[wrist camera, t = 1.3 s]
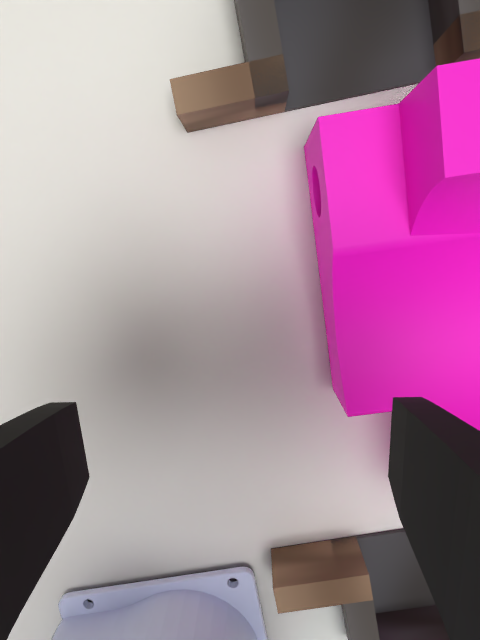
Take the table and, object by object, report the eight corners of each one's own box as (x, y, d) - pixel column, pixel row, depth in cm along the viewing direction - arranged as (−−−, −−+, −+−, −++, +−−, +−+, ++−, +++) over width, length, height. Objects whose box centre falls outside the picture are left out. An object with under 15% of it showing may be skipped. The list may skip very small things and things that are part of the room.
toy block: (303, 147, 19) (334, 82, 11) (457, 122, 18) (595, 38, 11) (343, 483, 21) (391, 613, 14) (481, 467, 21) (607, 591, 13)
